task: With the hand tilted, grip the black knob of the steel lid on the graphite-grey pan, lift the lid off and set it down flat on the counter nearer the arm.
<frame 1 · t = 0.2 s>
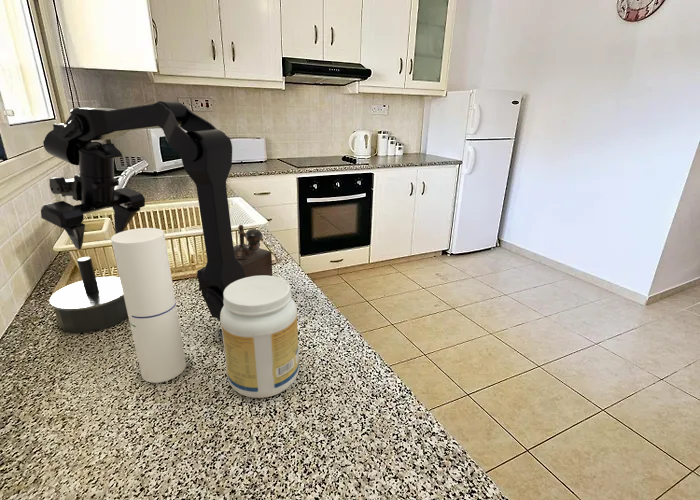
hand: (99, 241, 81), 15 cm above the countertop, tool pointing down, fingers open, 9 cm apart
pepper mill: (251, 290, 95), on the countertop
cylindrical container: (164, 369, 66), on the countertop
pan lid: (92, 293, 80), point 5 cm above the countertop, touching pan
pan: (98, 315, 82), on the countertop
supplement tub: (264, 376, 65), on the countertop
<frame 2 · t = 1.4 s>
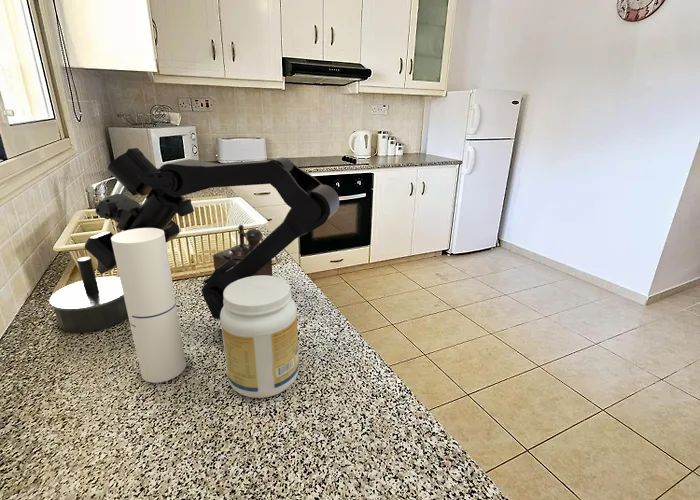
hand: (118, 262, 76), 13 cm above the countertop, tool tilted 45°, fingers open, 9 cm apart
nothing on the countertop moved.
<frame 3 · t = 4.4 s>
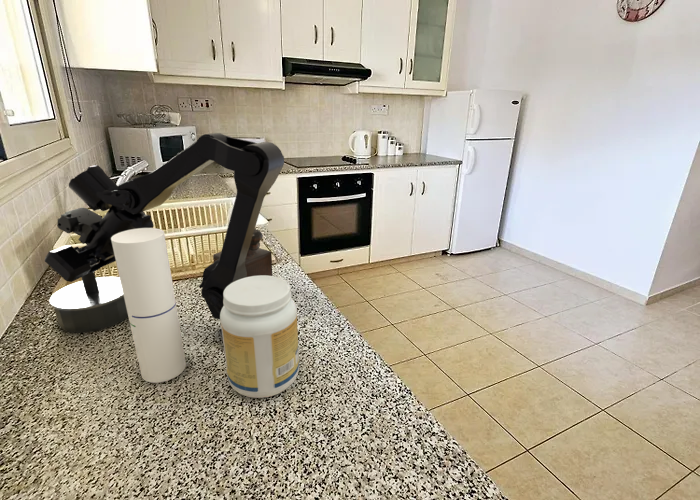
hand: (82, 273, 78), 10 cm above the countertop, tool tilted 45°, fingers closed on pan lid, 2 cm apart
pan lid: (92, 293, 80), point 5 cm above the countertop, touching gripper, pan
everything else where it was.
when the fingers open (5 cm above the countertop, at t = 10.8 s): pan lid stays where it is, point 1 cm above the countertop.
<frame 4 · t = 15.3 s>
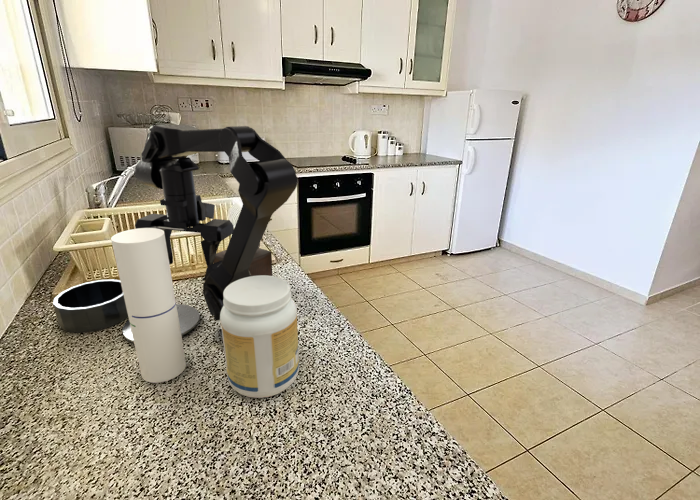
hand: (190, 265, 78), 12 cm above the countertop, tool pointing down, fingers open, 9 cm apart
pan lid: (162, 323, 78), point 1 cm above the countertop
everything else where it was.
at the end: pan lid inside the target area (0.0 cm from its centre), point 0.6 cm above the countertop; pan lid tilted 0°; the gripper is holding nothing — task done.
